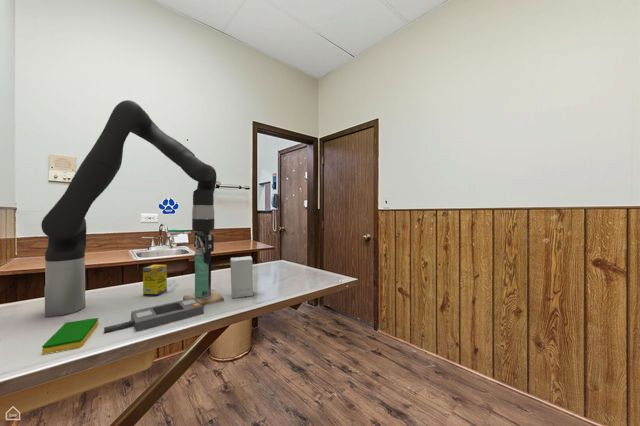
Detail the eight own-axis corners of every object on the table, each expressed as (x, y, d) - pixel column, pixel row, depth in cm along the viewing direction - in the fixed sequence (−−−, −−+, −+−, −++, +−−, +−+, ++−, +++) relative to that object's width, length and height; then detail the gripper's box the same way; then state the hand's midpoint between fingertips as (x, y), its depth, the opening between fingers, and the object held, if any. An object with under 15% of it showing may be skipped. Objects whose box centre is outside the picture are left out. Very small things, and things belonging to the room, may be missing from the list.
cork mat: (192, 308, 87) (192, 305, 86) (183, 299, 95) (183, 296, 95) (223, 300, 94) (223, 297, 94) (213, 292, 102) (213, 290, 102)
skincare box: (251, 291, 104) (252, 255, 104) (253, 296, 98) (253, 258, 98) (230, 293, 101) (230, 256, 101) (230, 299, 96) (230, 260, 95)
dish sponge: (98, 325, 75) (98, 317, 74) (81, 348, 62) (81, 339, 62) (66, 330, 71) (65, 322, 71) (41, 356, 59) (41, 346, 59)
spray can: (214, 295, 96) (214, 243, 95) (203, 300, 91) (203, 245, 90) (202, 293, 98) (202, 242, 97) (191, 298, 93) (191, 244, 92)
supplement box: (157, 296, 97) (157, 268, 97) (142, 295, 98) (142, 267, 97) (167, 291, 103) (167, 264, 103) (153, 290, 103) (152, 264, 103)
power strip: (105, 339, 66) (105, 328, 66) (103, 326, 73) (103, 316, 73) (203, 313, 82) (203, 304, 82) (194, 304, 90) (194, 296, 90)
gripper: (186, 217, 96) (186, 259, 97) (198, 218, 86) (198, 266, 86) (207, 216, 101) (207, 256, 102) (221, 218, 91) (220, 262, 91)
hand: (203, 261), depth 94 cm, fingers open, 8 cm apart
